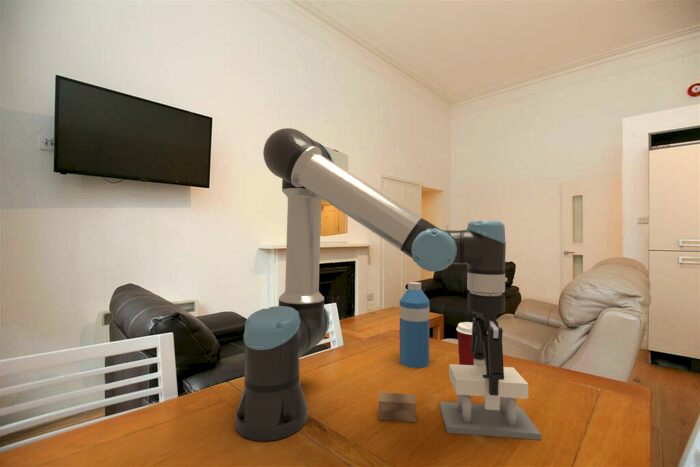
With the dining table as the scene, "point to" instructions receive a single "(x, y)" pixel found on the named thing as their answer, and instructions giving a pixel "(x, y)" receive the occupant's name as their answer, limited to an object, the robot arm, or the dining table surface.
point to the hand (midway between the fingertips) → (485, 397)
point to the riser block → (397, 407)
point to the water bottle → (414, 327)
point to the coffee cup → (465, 343)
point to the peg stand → (488, 419)
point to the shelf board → (473, 383)
